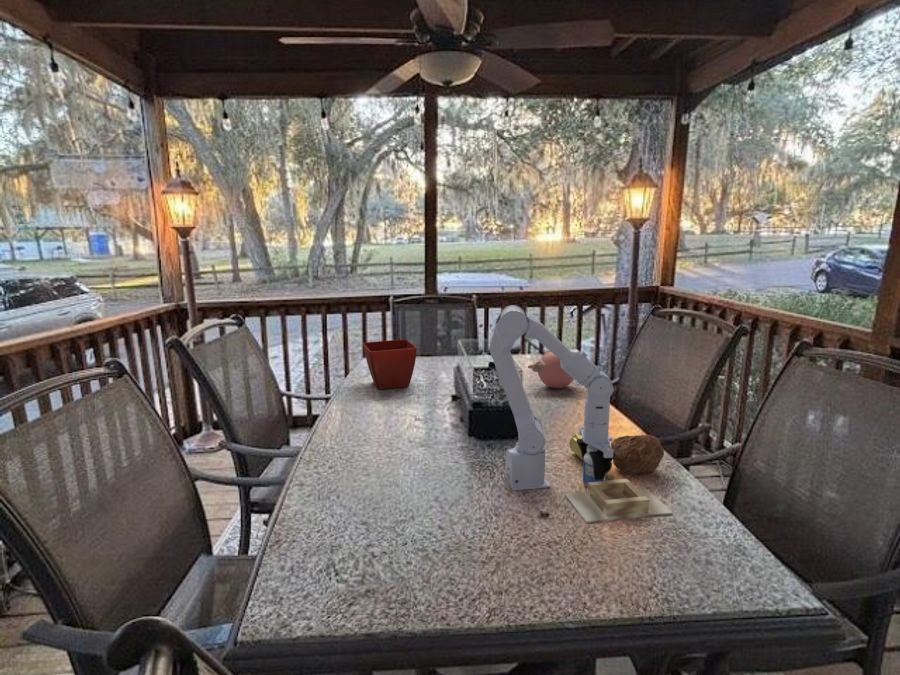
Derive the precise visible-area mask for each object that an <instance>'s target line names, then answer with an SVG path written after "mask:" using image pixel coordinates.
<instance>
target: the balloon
mask: <svg viewBox="0 0 900 675" xmlns="http://www.w3.org/2000/svg"><path fill="white" fill-rule="evenodd" d="M527 368H528V369H532V372H534V373H537V375H538V377H539V379H540V381H541V382H542V383H543V384H544V385H545V386H547V387H548V388H551V389H557V390H558V389H564V388H566V387H569V385H570V384H572V383H573V382H574V381H575V379H574V378H572V377H571V376H570V375H569V374H568V373H567V372H566V371H565V370H563V369H562V368H561V360H560V359H559V358H558V357H557V356H556V355H554V354H553V353H552V352H551V351H550V350H548V351H547V352H545V353H544V354H543V355H542V356H541V357H540V359H539V360H538V361H536V362H535V363H533V364H529V365H528V366H527Z"/></svg>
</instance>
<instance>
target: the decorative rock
mask: <svg viewBox="0 0 900 675" xmlns="http://www.w3.org/2000/svg"><path fill="white" fill-rule="evenodd" d="M610 442H611V443H610V445H611V448H612V449H613V453H614V454H615V457H614V459H613V460H612V464H613V466H615V468H616V469H617V470H618V471H620V472H622V473H623V474H625V475H630V474H632V475H634V474H635V475H636V476H637V475H644V474H645V473H647V474H652V473H655V471H656V470H657V469H658V467H659V465H660V463H661V461H662V459H663V457H664V455H665V451H664V447H663V445H662V442H661V441H660V440H659V439H658V438H657V437H656V436H654V435H651V434H641V435H624V436H619V437H617V438H614V439H612V441H610Z"/></svg>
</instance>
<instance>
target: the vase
mask: <svg viewBox="0 0 900 675" xmlns="http://www.w3.org/2000/svg"><path fill="white" fill-rule="evenodd" d="M577 439H582V436H581V435H580V434H579V432H577V433H575V434H574V435H573V436H572V437H571V438H570V439H569V448H570V450H571V451H572V452H573V453H574V454H575V455H576V456H577V457H578V458H579V459H580V460H582V461H583V459H582V454H581V451H580V448H579V445H578V443H577ZM612 468H613V461H611V463H610V464H609V466H608V468H607V471H606V475H607V474H608V473H610V471H611V470H612Z"/></svg>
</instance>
